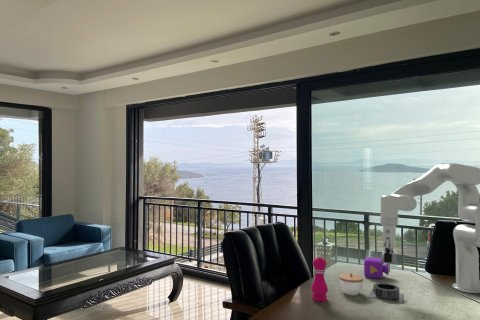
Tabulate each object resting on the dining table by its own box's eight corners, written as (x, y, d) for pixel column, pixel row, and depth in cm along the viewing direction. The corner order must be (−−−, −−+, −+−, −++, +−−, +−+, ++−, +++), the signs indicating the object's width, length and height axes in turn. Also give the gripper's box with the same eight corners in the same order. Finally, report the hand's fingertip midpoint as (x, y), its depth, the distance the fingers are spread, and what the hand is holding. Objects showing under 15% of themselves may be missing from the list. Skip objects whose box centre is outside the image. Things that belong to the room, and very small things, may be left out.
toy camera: (392, 280, 187) (392, 261, 187) (365, 278, 190) (364, 260, 190) (387, 274, 198) (387, 256, 198) (362, 273, 200) (362, 255, 201)
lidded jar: (364, 291, 170) (364, 271, 170) (361, 298, 160) (361, 277, 160) (341, 288, 174) (341, 269, 174) (337, 295, 164) (337, 274, 165)
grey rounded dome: (396, 261, 166) (396, 252, 166) (395, 264, 160) (395, 255, 160) (382, 259, 168) (382, 250, 169) (380, 262, 163) (381, 253, 163)
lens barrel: (403, 294, 165) (403, 285, 166) (402, 303, 155) (401, 293, 155) (372, 289, 172) (372, 280, 172) (368, 297, 162) (368, 287, 162)
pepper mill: (328, 297, 161) (328, 253, 162) (327, 302, 155) (326, 256, 155) (312, 295, 164) (312, 252, 164) (310, 300, 157) (310, 255, 157)
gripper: (396, 224, 156) (395, 265, 155) (399, 220, 171) (399, 257, 170) (378, 223, 159) (377, 263, 159) (382, 218, 174) (382, 255, 174)
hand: (388, 260), depth 164 cm, fingers closed on grey rounded dome, 5 cm apart
